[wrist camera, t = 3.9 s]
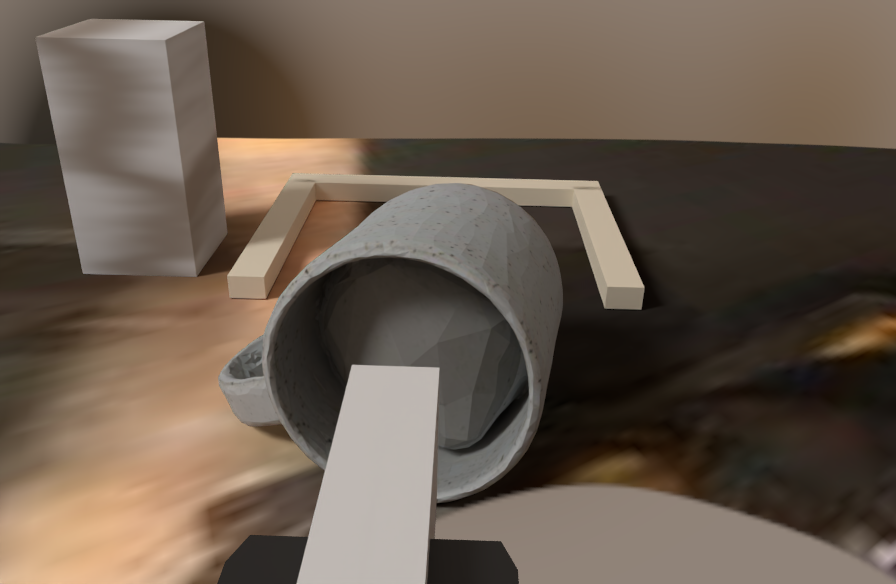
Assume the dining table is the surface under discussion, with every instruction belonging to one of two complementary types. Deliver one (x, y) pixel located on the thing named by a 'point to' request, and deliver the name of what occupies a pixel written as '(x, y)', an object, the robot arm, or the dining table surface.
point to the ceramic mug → (417, 329)
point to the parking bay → (302, 190)
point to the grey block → (136, 143)
